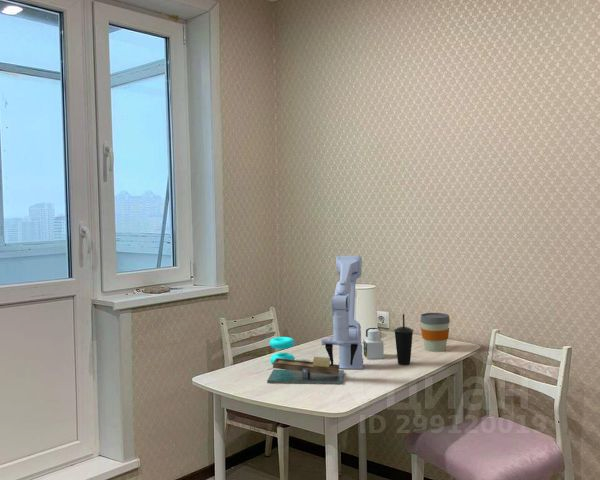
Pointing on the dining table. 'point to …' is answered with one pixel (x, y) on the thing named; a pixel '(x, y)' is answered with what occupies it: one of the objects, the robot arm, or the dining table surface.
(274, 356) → the donuts
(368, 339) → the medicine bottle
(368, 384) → the dining table surface
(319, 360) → the block
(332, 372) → the brown long flat tray
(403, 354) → the drinking cup
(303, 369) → the stand
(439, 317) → the reusable coffee cup
